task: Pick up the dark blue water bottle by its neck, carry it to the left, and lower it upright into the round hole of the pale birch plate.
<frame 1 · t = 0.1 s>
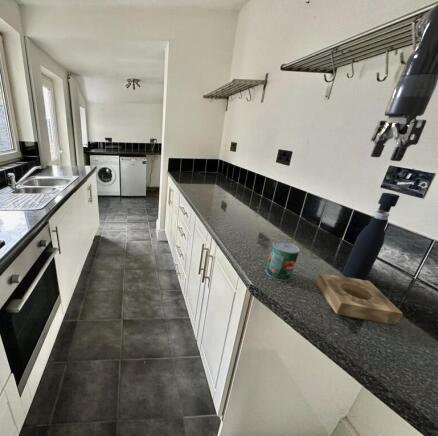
hand: (384, 158, 67), 40 cm above the table, tool pointing down, fingers open, 8 cm apart
dark blue water bottle: (353, 277, 81), on the table
canned tomato: (277, 274, 81), on the table
hole plate: (351, 301, 69), on the table
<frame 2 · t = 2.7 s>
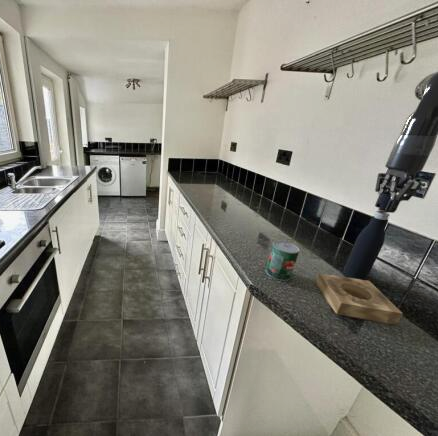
hand: (384, 209, 71), 25 cm above the table, tool pointing down, fingers closed on dark blue water bottle, 4 cm apart
dark blue water bottle: (353, 277, 81), on the table, touching gripper
everything else where it was.
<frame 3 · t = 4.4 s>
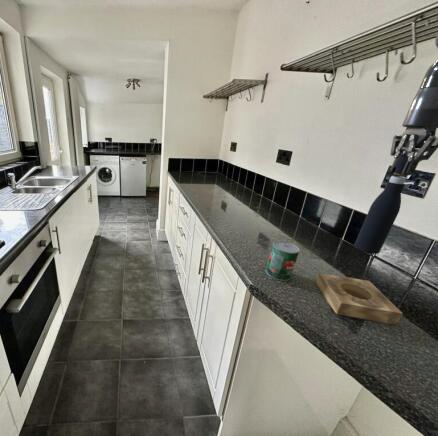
hand: (400, 173, 67), 36 cm above the table, tool pointing down, fingers closed on dark blue water bottle, 4 cm apart
dark blue water bottle: (366, 249, 77), point 11 cm above the table, touching gripper
everything else where it was.
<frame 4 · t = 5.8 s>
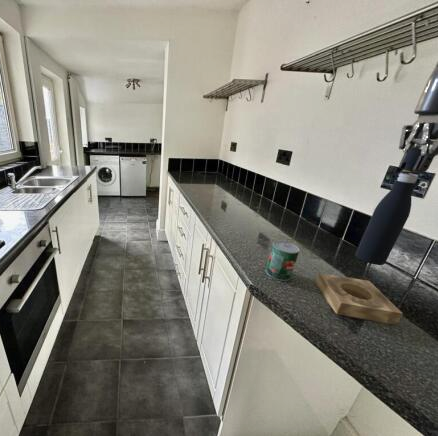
hand: (411, 169, 56), 39 cm above the table, tool pointing down, fingers closed on dark blue water bottle, 4 cm apart
dark blue water bottle: (369, 259, 65), point 14 cm above the table, touching gripper
everything else where it was.
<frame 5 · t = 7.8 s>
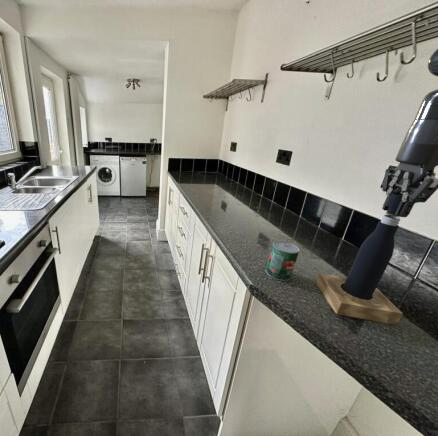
hand: (393, 213, 58), 29 cm above the table, tool pointing down, fingers closed on dark blue water bottle, 4 cm apart
dark blue water bottle: (355, 293, 68), point 3 cm above the table, touching gripper
everything else where it was.
when the fingers open (25 cm above the table, at t = 9.2 s): dark blue water bottle stays where it is, resting in hole plate.
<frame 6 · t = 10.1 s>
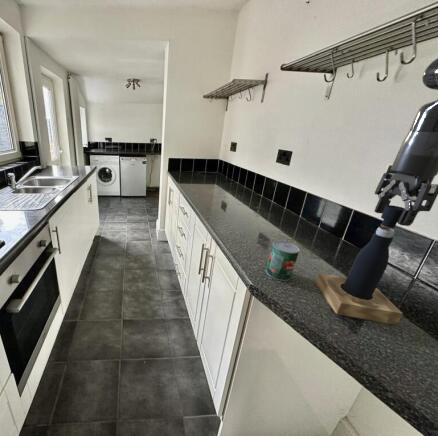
hand: (390, 218, 59), 27 cm above the table, tool pointing down, fingers open, 8 cm apart
dark blue water bottle: (351, 302, 69), resting in hole plate
everything else where it was.
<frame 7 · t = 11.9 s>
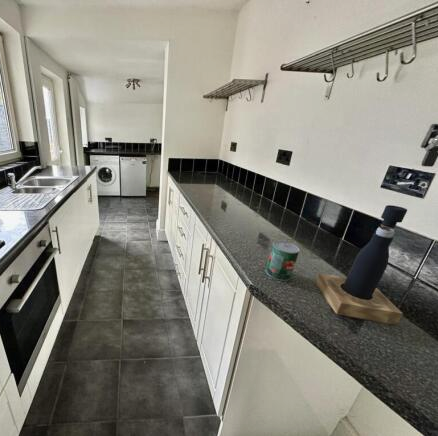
nothing on the table moved.
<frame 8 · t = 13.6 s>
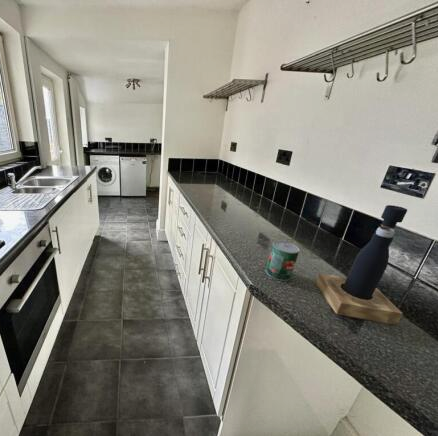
nothing on the table moved.
at the end: dark blue water bottle 0.1 cm off-centre in the hole plate, point 0.0 cm above the hole plate's base; dark blue water bottle tilted 0°; the gripper is holding nothing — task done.
